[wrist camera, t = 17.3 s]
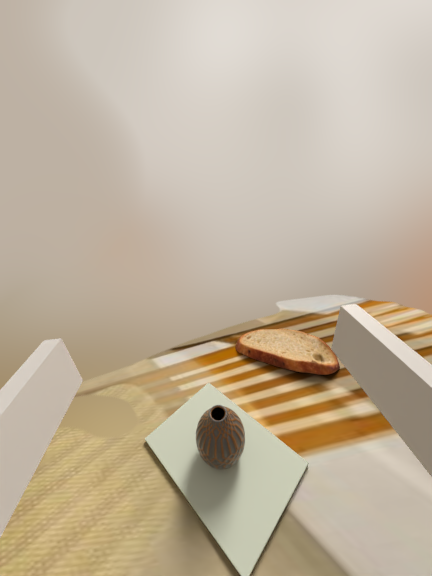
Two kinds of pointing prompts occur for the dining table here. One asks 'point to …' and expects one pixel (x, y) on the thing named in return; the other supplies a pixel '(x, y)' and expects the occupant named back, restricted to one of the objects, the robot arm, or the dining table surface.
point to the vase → (220, 437)
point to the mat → (230, 478)
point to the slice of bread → (289, 350)
